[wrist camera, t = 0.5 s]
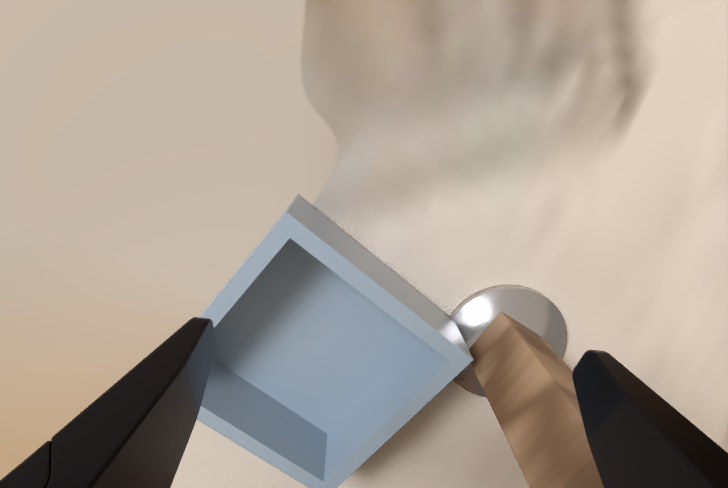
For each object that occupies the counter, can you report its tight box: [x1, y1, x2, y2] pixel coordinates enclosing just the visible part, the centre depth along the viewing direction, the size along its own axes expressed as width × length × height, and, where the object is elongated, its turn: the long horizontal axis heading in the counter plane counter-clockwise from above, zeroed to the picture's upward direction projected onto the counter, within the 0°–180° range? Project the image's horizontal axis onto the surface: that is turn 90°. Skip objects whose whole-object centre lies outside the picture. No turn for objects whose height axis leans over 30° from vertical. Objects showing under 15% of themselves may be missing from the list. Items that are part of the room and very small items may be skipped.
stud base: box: [450, 285, 567, 397], centre depth 28 cm, size 9×9×3 cm
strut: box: [469, 311, 604, 488], centre depth 23 cm, size 4×4×12 cm
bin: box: [197, 194, 473, 488], centre depth 26 cm, size 14×14×5 cm
